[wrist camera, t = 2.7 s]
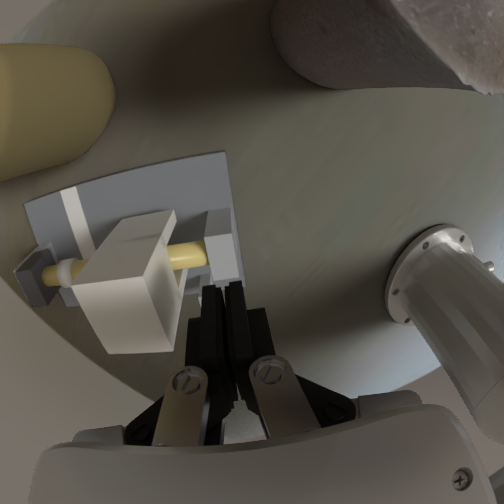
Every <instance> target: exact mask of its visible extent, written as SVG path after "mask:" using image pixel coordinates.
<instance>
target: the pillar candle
mask: <svg viewBox="0 0 504 504" xmlns="http://www.w3.org/2000/svg"><path fill="white" fill-rule="evenodd" d="M270 31H271V36H272V39H273V42H274V44H275V47H276V48H277V50H278V52H279V54H280V55H281V57H282V58H283V59H284V60H285V62H286V63H287V64H288V65H289V66H290V67H291V68H292V69H293V70H294V71H296V72H297V73H298V74H300V75H301V76H303V77H304V78H306V79H308V80H309V81H311V82H313V83H316V84H318V85H321V86H324V87H328V88H332V89H364V88H388V87H426V88H450V89H462V90H472V91H476V92H479V93H480V94H483V95H484V94H485V95H487V94H489V95H491V96H493V94H495V95H497V94H504V0H277V1H276V2H275V4H274V6H273V8H272V10H271V16H270Z"/></svg>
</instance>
